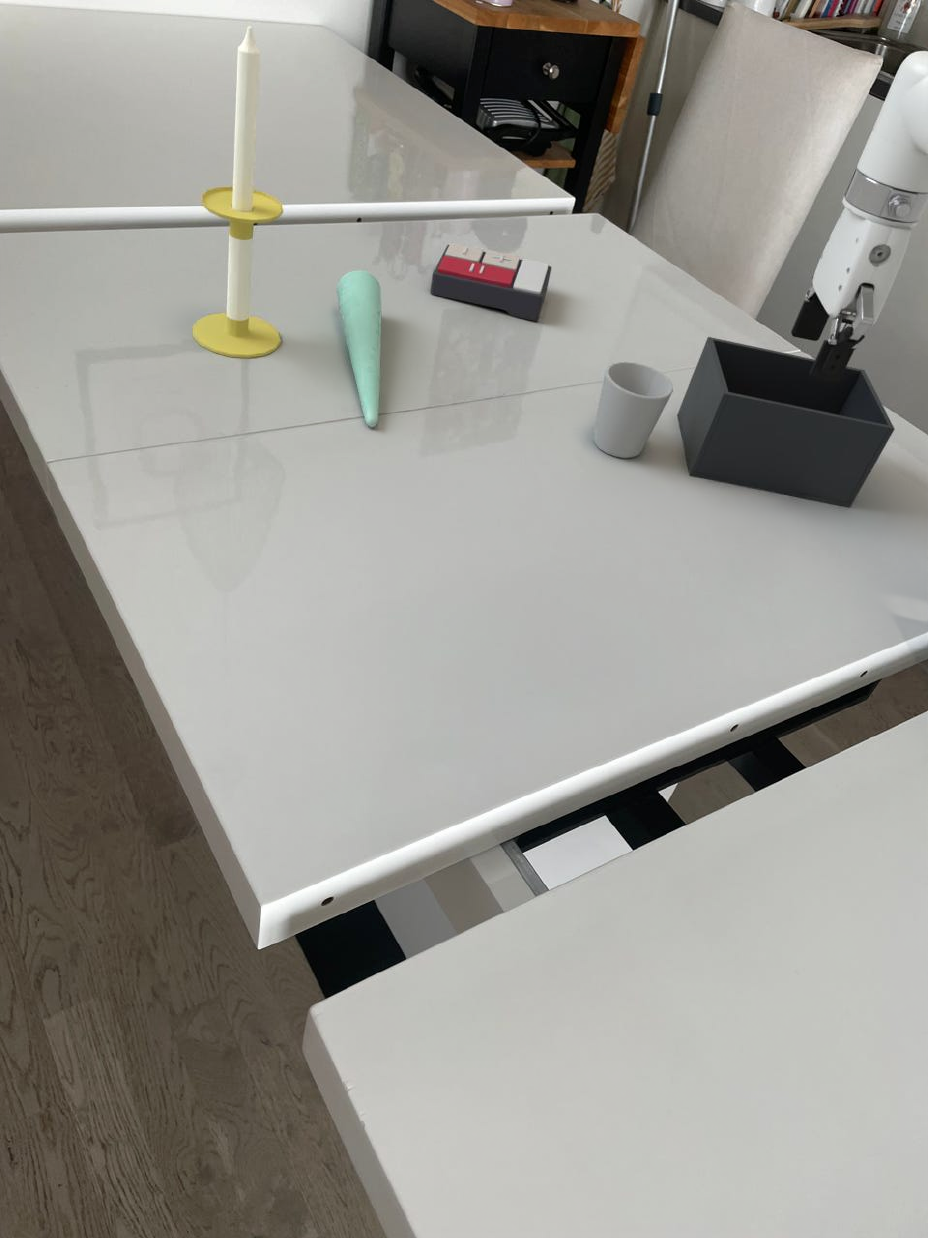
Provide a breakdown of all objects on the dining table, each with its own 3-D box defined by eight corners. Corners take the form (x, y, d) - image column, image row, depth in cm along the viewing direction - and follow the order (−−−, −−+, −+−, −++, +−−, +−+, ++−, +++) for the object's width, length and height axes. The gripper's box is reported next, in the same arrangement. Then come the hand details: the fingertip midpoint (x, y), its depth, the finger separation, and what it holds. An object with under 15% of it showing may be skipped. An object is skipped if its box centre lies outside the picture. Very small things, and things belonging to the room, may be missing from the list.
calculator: (448, 237, 137) (553, 260, 137) (444, 267, 140) (547, 289, 140) (433, 267, 129) (544, 291, 129) (429, 298, 132) (538, 321, 132)
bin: (825, 445, 122) (864, 369, 115) (850, 507, 112) (895, 428, 105) (676, 415, 121) (707, 336, 113) (689, 475, 111) (724, 393, 104)
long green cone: (351, 382, 101) (339, 267, 120) (345, 427, 104) (334, 309, 123) (403, 387, 102) (383, 272, 121) (396, 432, 106) (377, 314, 125)
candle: (185, 349, 109) (186, 21, 88) (199, 308, 117) (204, -4, 95) (275, 363, 111) (299, 44, 89) (284, 323, 118) (308, 18, 97)
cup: (589, 458, 109) (611, 391, 103) (578, 411, 116) (598, 346, 111) (654, 468, 110) (679, 402, 105) (639, 420, 118) (662, 356, 112)
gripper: (950, 237, 90) (866, 402, 101) (897, 177, 103) (827, 329, 114) (872, 221, 89) (796, 389, 100) (828, 162, 102) (766, 317, 113)
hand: (813, 357), depth 107 cm, fingers open, 9 cm apart
